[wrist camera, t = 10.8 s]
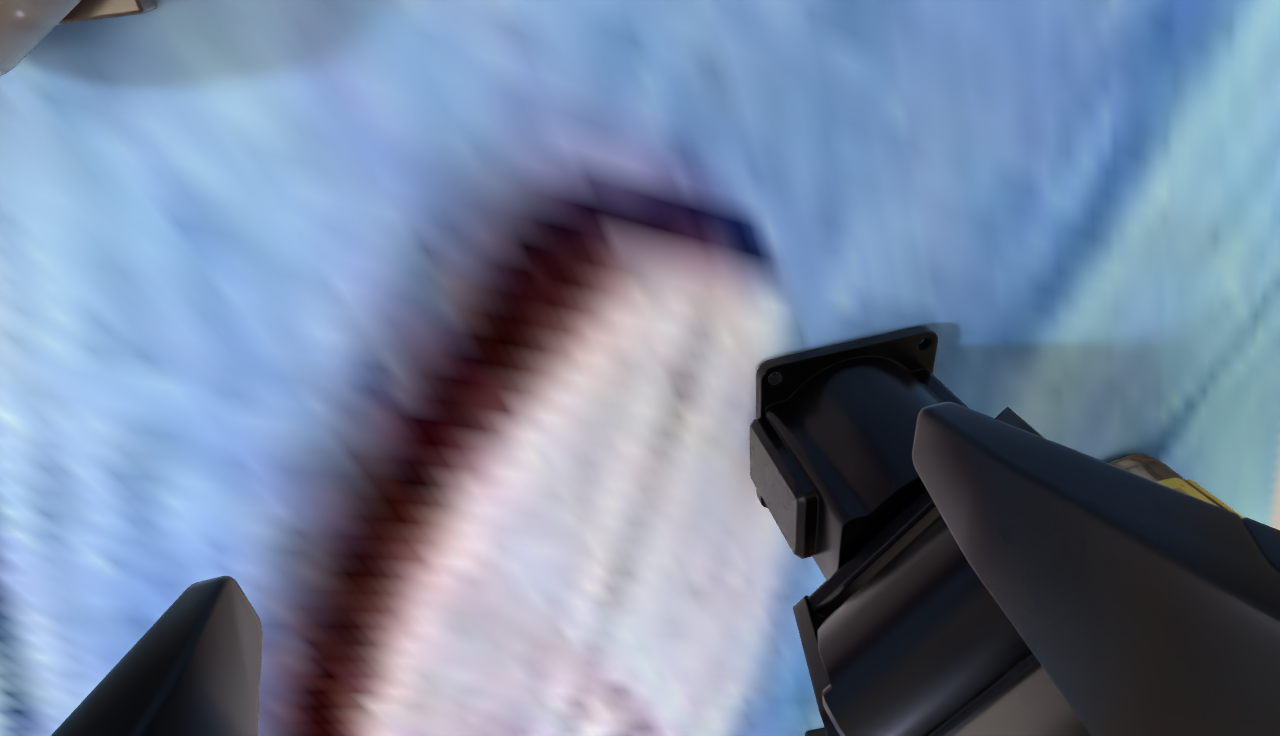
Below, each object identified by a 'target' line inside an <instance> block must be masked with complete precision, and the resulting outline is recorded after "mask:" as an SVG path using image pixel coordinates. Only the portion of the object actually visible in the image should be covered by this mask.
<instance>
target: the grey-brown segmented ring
mask: <svg viewBox="0 0 1280 736" xmlns="http://www.w3.org/2000/svg"><path fill="white" fill-rule="evenodd" d="M80 1H81V0H0V76H1V75H4V74H6V73H7V72H9V71H10V70H12V69H13V68H14V67H15V66H17V65H18V64H19V63H20V61H21V60H22V59H23V58H24V57H25V56H26V55H27V54H28V53H29V52H30V51H31V50H32V49H33V48H34V47H35V46H36V45H37V44H38V43H39V42H40V41H41V40H42V39H43V38H44V37H45V36H46V35H47V34H48V33H49V32H50V31H51V30H52V29H53V28H54V27H55V26H56V25H57V24H58V23H59V22H60V21H61V20H62V19H63V18H64V17H65V16H66V15H67V14H68V13H69V12H70V11H71V10H72V9H73V8H74V7H75V6H76V5H77V4H78V3H79V2H80Z"/></svg>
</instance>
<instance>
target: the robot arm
mask: <svg viewBox="0 0 1280 736" xmlns="http://www.w3.org/2000/svg"><path fill="white" fill-rule="evenodd" d="M922 339H924V341H923V342H922V343H921V344H919V342H920V341H921V340H922ZM937 343H938V337H937V335H936V334H935V333H934V332H933V331H932V330H931V329H929V328H928V327H925V326H920V327H915V328H911V329H906V330H902V331H897V332H893V333H888V334H884V335H879V336H875V337H870V338H866V339H861V340H857V341H852V342H848V343H843V344H839V345H834V346H830V347H825V348H821V349H816V350H812V351H807V352H803V353H798V354H794V355H789V356H785V357H780V358H776V359H771V360H768V361H766V362H764V363H763V364H762V365H761V366H760V367H759V369H758V370H757V374H756V419H754V420H753V422H752V424H751V426H750V475H751V479H752V480H753V482H754V484H755V486H756V488H757V497H758V499H759V501H760V502H761V504H762V505H763V506H764V507H767V508H768V509H769V510H770V512H771V514H772V516H773V518H774V519H775V521H776V523H777V525H778V526H779V528H780V530H781V532H782V533H783V535H784V537H785V539H786V541H787V542H788V544H789V546H790V548H791V549H792V551H793V553H794V554H795V555H797V556H798V557H800V558H807V557H811V556H813V558H814V560H815V561H816V563H817V565H818V567H819V568H820V570H821V572H822V573H823V575H824V577H825V578H826V581H825V582H824V583H823V584H822V585H821V586H820V587H819V588H818V589H817V590H816V591H815V592H814V593H812V594H811V595H810V596H805V597H804V598H803V599H801V600H800V601H799V602H798V603H797V604H796V605H795V606H794V607H793V610H794V614H795V618H796V622H797V626H798V630H799V633H800V637H801V641H802V645H803V649H804V653H805V657H806V661H807V665H808V669H809V673H810V677H811V680H812V684H813V688H814V692H815V696H816V700H817V704H818V708H819V712H820V715H821V717H822V720H823V723H824V727H825V731H826V734H827V736H1280V530H1277V529H1275V528H1272V527H1270V526H1267V525H1265V524H1262V523H1259V522H1257V521H1254V520H1252V519H1249V518H1242V519H1241V517H1240V516H1239V515H1238V514H1236V513H1234V512H1231V511H1229V510H1226V509H1223V508H1221V507H1218V506H1216V505H1213V504H1211V503H1208V502H1206V501H1203V500H1201V499H1198V498H1195V497H1193V496H1190V495H1188V494H1185V493H1183V492H1180V491H1178V490H1175V489H1173V488H1170V487H1167V486H1165V485H1162V484H1160V483H1157V482H1155V481H1152V480H1150V479H1147V478H1144V477H1142V476H1139V475H1137V474H1134V473H1132V472H1129V471H1127V470H1124V469H1122V468H1119V467H1116V466H1114V465H1111V464H1109V463H1106V462H1104V461H1101V460H1099V459H1096V458H1094V457H1091V456H1088V455H1086V454H1083V453H1081V452H1078V451H1076V450H1073V449H1071V448H1068V447H1066V446H1063V445H1060V444H1058V443H1055V442H1053V441H1050V440H1048V439H1046V438H1045V437H1044V436H1042V435H1041V434H1040V433H1039V432H1038V431H1036V430H1035V429H1034V428H1033V427H1032V426H1030V425H1029V424H1028V423H1027V422H1026V421H1024V420H1023V419H1022V418H1021V417H1020V416H1018V415H1017V414H1016V413H1015V412H1014V411H1012V410H1011V409H1010V408H1009V407H1007V408H1006V409H1005V410H1004V411H1003V412H1001V413H1000V414H999V415H998V416H997V417H996V418H995V419H994V418H992V417H989V416H987V415H984V414H981V413H979V412H976V411H974V410H971V409H969V408H968V407H967V406H966V405H965V404H964V403H963V402H962V401H961V400H960V399H959V398H958V397H956V396H955V395H954V394H953V393H952V392H951V391H950V390H949V389H948V388H947V387H946V386H944V385H943V384H942V383H941V382H940V381H939V380H938V379H937V378H936V377H935V376H934V375H933V368H934V362H935V356H936V350H937ZM774 372H777V374H776V375H775V376H774V377H772V378H768V377H769V376H770V375H771V374H772V373H774ZM262 640H263V634H262V626H261V622H260V619H259V617H258V615H257V613H256V612H255V610H254V609H253V607H252V605H251V604H250V602H249V601H248V599H247V597H246V596H245V594H244V593H243V591H242V589H241V588H240V586H239V585H238V583H237V582H236V581H235V579H233V578H232V577H229V576H221V577H217V578H213V579H209V580H205V581H201V582H197V583H195V584H192V585H191V586H190V587H188V588H187V589H186V590H185V591H184V592H183V593H182V595H181V596H180V597H179V598H178V599H177V600H176V601H175V602H174V603H173V604H172V605H171V606H170V608H169V609H168V610H167V611H166V612H165V613H164V614H163V615H162V616H161V617H160V618H159V619H158V620H157V622H156V623H155V624H154V625H153V626H152V627H151V628H150V629H149V630H148V631H147V632H146V633H145V635H144V636H143V637H142V638H141V639H140V640H139V641H138V642H137V643H136V644H135V645H134V646H133V648H132V649H131V650H130V651H129V652H128V653H127V654H126V655H125V656H124V657H123V658H122V659H121V660H120V662H119V663H118V664H117V665H116V666H115V667H114V668H113V669H112V670H111V671H110V672H109V673H108V675H107V676H106V677H105V678H104V679H103V680H102V681H101V682H100V683H99V684H98V685H97V686H96V687H95V689H94V690H93V691H92V692H91V693H90V694H89V695H88V696H87V697H86V698H85V699H84V700H83V702H82V703H81V704H80V705H79V706H78V707H77V708H76V709H75V710H74V711H73V712H72V713H71V715H70V716H69V717H68V718H67V719H66V720H65V721H64V722H63V723H62V724H61V725H60V726H59V727H58V729H57V730H56V731H55V732H54V733H53V734H52V735H51V736H258V720H259V700H260V680H261V660H262Z"/></svg>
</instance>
